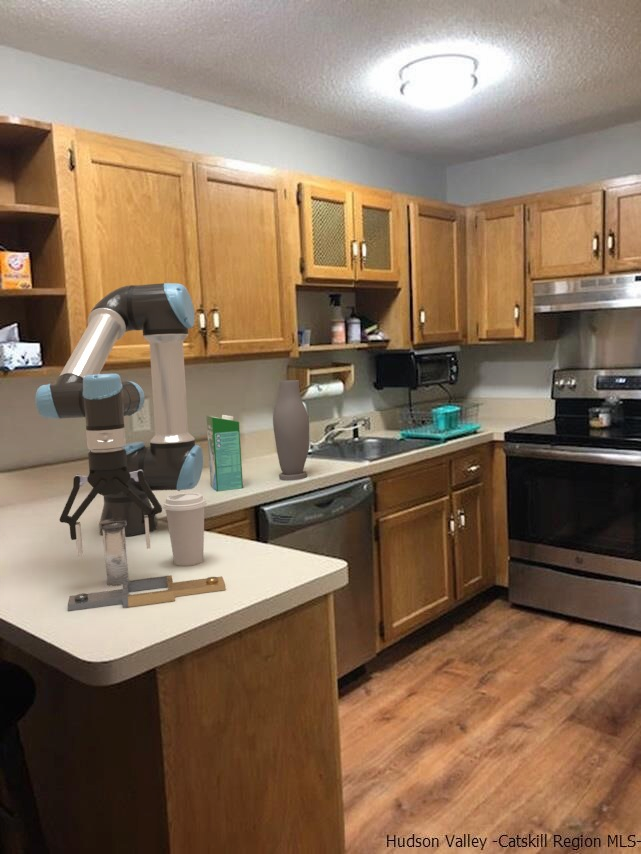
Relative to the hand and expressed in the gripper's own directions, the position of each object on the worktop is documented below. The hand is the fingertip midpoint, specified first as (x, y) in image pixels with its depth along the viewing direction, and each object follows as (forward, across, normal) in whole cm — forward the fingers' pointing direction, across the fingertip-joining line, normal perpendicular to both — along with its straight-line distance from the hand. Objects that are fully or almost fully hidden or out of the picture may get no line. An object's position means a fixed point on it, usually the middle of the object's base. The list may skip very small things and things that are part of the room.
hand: (114, 550), depth 145 cm
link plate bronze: (+7, +12, -11) cm, 17 cm away
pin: (+7, 0, 0) cm, 7 cm away
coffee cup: (+7, +15, +9) cm, 19 cm away
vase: (+5, +59, +95) cm, 112 cm away
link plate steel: (+7, +1, -11) cm, 13 cm away
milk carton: (+6, +34, +88) cm, 95 cm away
